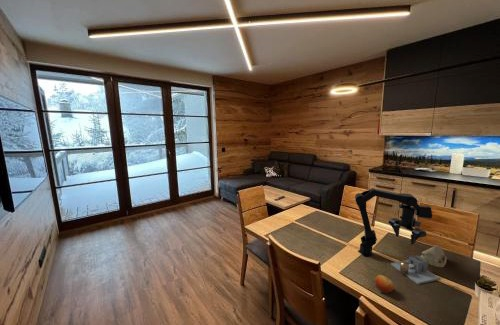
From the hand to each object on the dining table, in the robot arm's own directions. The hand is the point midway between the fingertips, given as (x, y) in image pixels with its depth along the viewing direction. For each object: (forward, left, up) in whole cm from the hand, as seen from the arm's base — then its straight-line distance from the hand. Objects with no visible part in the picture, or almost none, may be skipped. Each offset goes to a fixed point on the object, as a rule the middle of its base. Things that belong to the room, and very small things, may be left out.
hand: (404, 240), depth 124 cm
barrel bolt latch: (-3, -10, -13) cm, 16 cm away
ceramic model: (+18, -4, -13) cm, 23 cm away
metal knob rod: (-3, -10, -12) cm, 15 cm away
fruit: (-30, -17, -13) cm, 37 cm away
